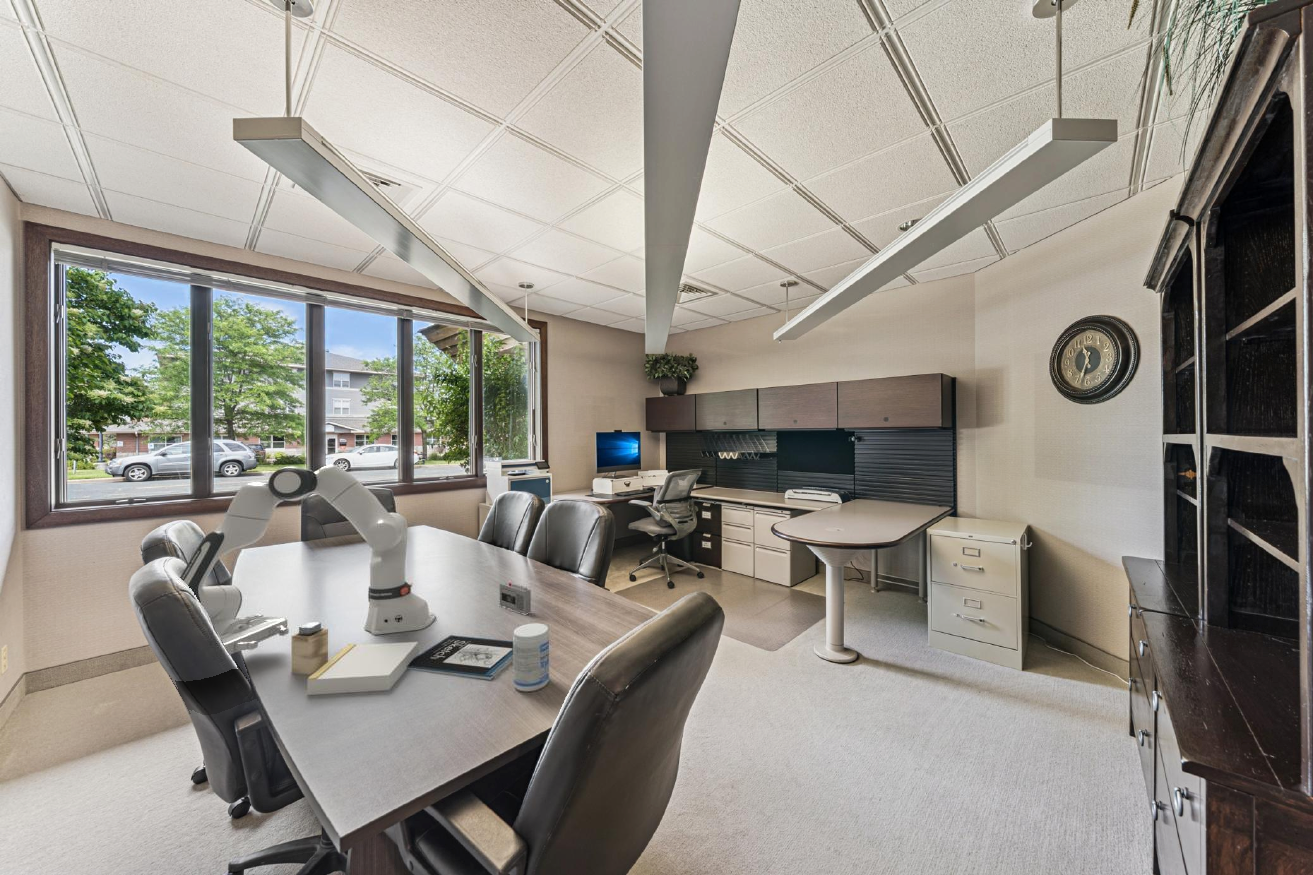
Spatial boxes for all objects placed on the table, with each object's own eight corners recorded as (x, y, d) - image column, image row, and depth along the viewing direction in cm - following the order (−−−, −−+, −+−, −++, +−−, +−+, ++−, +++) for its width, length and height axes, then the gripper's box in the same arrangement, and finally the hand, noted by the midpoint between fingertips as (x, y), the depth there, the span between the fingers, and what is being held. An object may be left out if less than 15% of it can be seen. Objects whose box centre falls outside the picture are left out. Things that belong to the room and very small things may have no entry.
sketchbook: (450, 639, 156) (450, 632, 156) (532, 648, 149) (532, 641, 149) (401, 670, 135) (401, 662, 135) (493, 682, 128) (493, 674, 128)
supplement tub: (549, 690, 123) (549, 635, 123) (511, 695, 121) (511, 638, 121) (549, 672, 132) (549, 621, 132) (514, 676, 130) (514, 624, 130)
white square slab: (418, 654, 143) (418, 640, 143) (389, 690, 123) (389, 673, 123) (348, 658, 141) (348, 644, 141) (307, 695, 121) (307, 678, 121)
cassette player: (499, 606, 184) (499, 581, 184) (505, 604, 186) (505, 579, 186) (524, 615, 175) (524, 589, 175) (530, 613, 177) (530, 587, 177)
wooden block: (310, 662, 138) (310, 627, 138) (328, 664, 137) (327, 628, 137) (291, 672, 132) (291, 636, 132) (310, 674, 131) (310, 637, 131)
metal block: (310, 634, 137) (310, 622, 137) (320, 635, 136) (320, 622, 136) (299, 639, 133) (299, 627, 133) (310, 640, 133) (310, 627, 133)
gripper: (191, 639, 128) (234, 643, 126) (264, 612, 148) (302, 615, 146) (191, 662, 128) (234, 666, 126) (264, 631, 148) (302, 635, 146)
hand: (271, 638), depth 136 cm, fingers open, 8 cm apart
